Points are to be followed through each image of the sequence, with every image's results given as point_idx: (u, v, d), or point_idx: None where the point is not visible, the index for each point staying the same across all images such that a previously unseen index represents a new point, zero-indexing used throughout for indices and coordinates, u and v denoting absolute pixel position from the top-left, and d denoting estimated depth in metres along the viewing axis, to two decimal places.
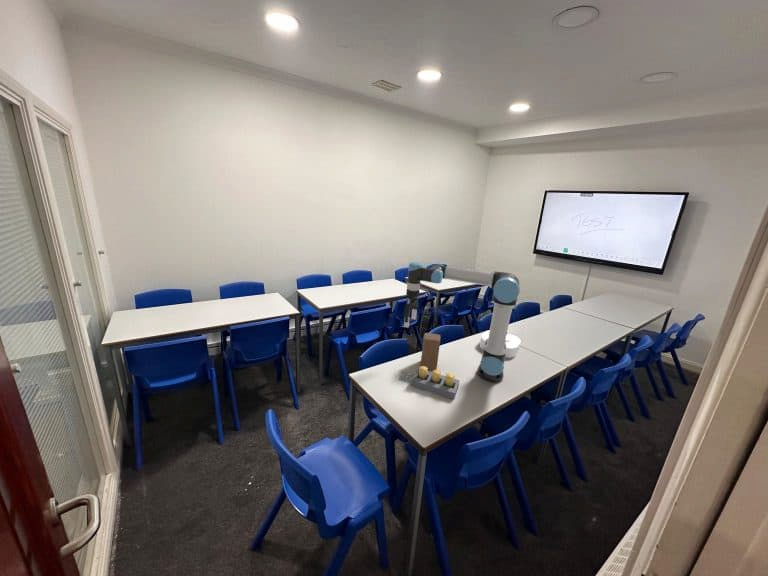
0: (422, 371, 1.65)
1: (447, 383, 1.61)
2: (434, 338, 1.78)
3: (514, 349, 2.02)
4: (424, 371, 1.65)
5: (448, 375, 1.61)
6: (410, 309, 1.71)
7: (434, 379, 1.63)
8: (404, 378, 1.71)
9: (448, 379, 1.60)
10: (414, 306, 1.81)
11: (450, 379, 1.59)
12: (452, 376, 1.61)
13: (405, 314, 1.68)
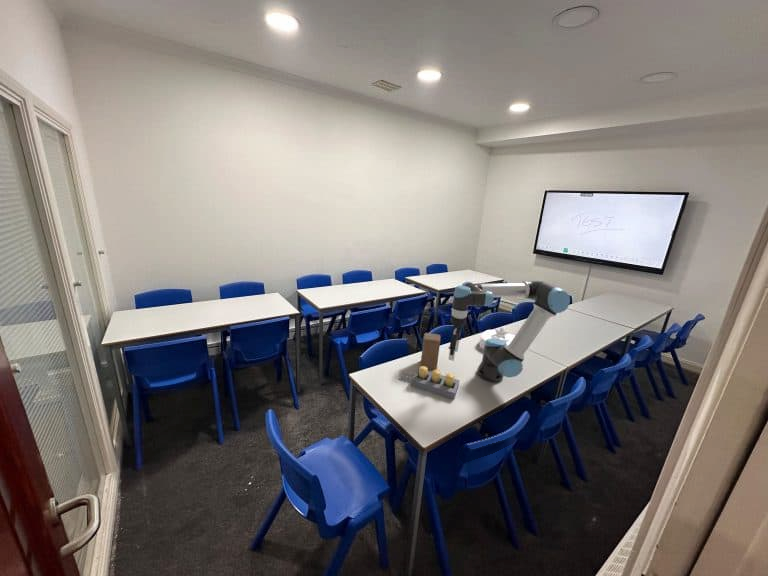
0: (422, 371, 1.65)
1: (447, 383, 1.61)
2: (434, 338, 1.78)
3: None
4: (424, 371, 1.65)
5: (448, 375, 1.61)
6: (456, 340, 1.50)
7: (434, 379, 1.63)
8: (404, 378, 1.71)
9: (448, 379, 1.60)
10: (457, 336, 1.59)
11: (450, 379, 1.59)
12: (452, 376, 1.61)
13: (451, 347, 1.48)
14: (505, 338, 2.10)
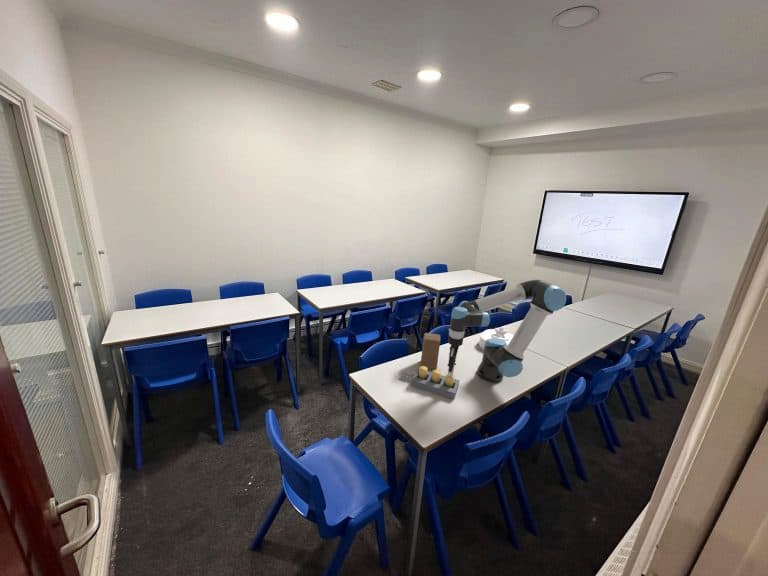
0: (422, 371, 1.65)
1: (447, 384, 1.61)
2: (434, 338, 1.78)
3: None
4: (424, 371, 1.65)
5: (448, 376, 1.61)
6: (454, 359, 1.56)
7: (434, 379, 1.63)
8: (404, 378, 1.71)
9: (448, 380, 1.60)
10: None
11: (450, 380, 1.59)
12: (452, 377, 1.61)
13: (450, 365, 1.55)
14: (504, 338, 2.10)
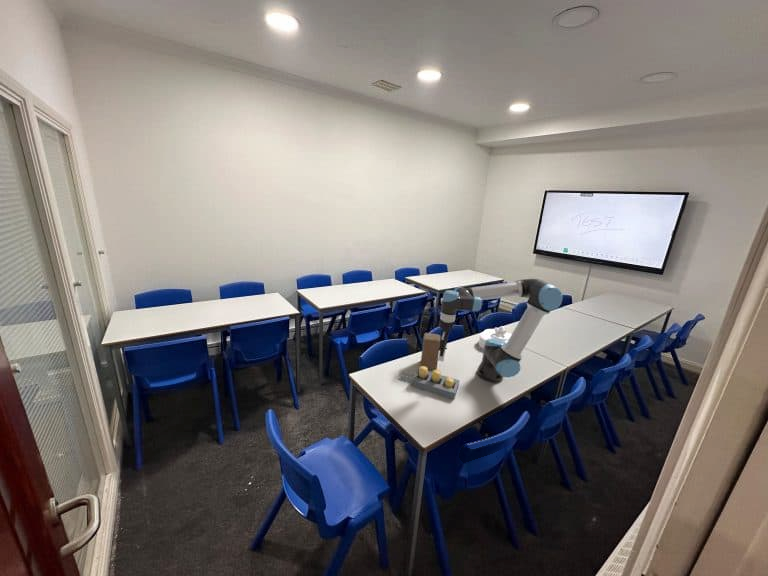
0: (422, 371, 1.65)
1: None
2: (434, 338, 1.78)
3: None
4: (424, 371, 1.65)
5: (447, 379, 1.62)
6: (445, 343, 1.55)
7: (434, 379, 1.63)
8: (404, 378, 1.71)
9: (447, 383, 1.60)
10: None
11: (449, 383, 1.60)
12: (451, 380, 1.61)
13: (441, 349, 1.55)
14: (504, 337, 2.11)
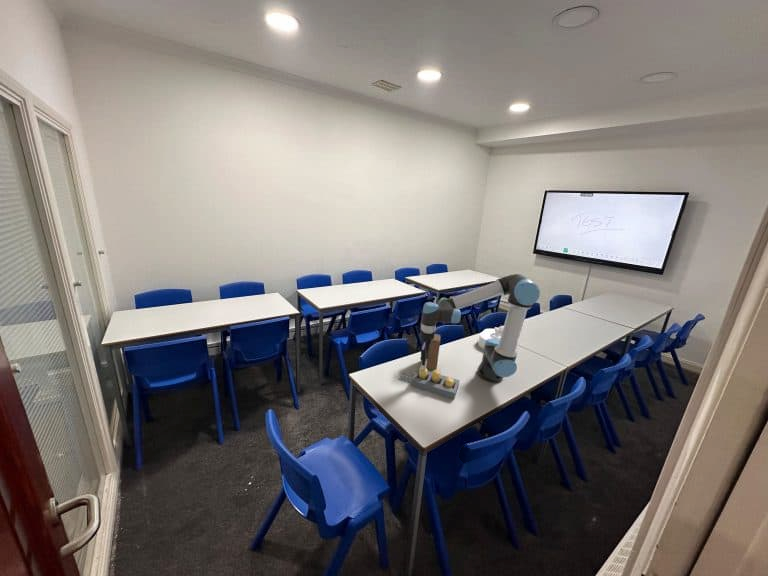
0: (422, 372, 1.65)
1: None
2: (434, 338, 1.78)
3: None
4: (424, 372, 1.65)
5: (447, 379, 1.62)
6: (426, 353, 1.61)
7: (434, 379, 1.63)
8: (404, 378, 1.71)
9: (447, 383, 1.60)
10: None
11: (449, 383, 1.60)
12: (451, 380, 1.61)
13: (422, 358, 1.61)
14: None
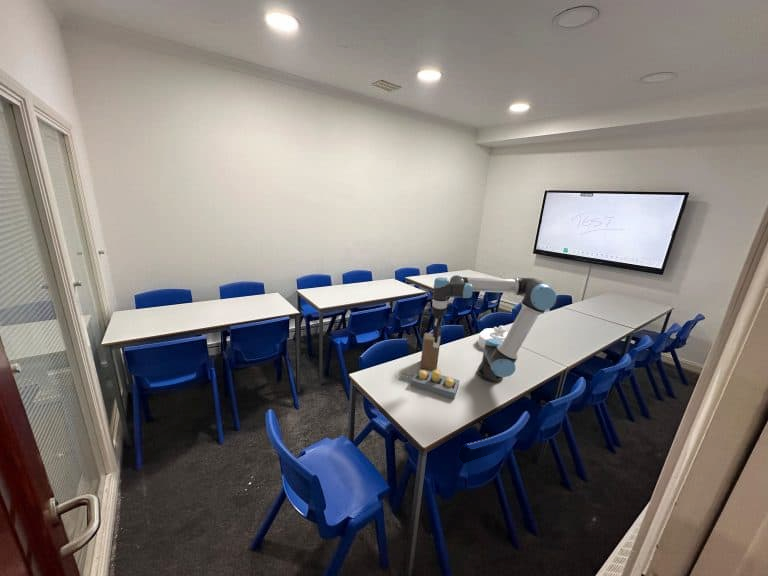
0: (422, 375, 1.66)
1: None
2: None
3: None
4: (424, 375, 1.66)
5: (447, 379, 1.62)
6: (438, 329, 1.59)
7: (434, 379, 1.63)
8: (404, 378, 1.71)
9: (447, 383, 1.60)
10: None
11: (449, 383, 1.60)
12: (451, 380, 1.61)
13: (435, 335, 1.58)
14: (503, 336, 2.12)
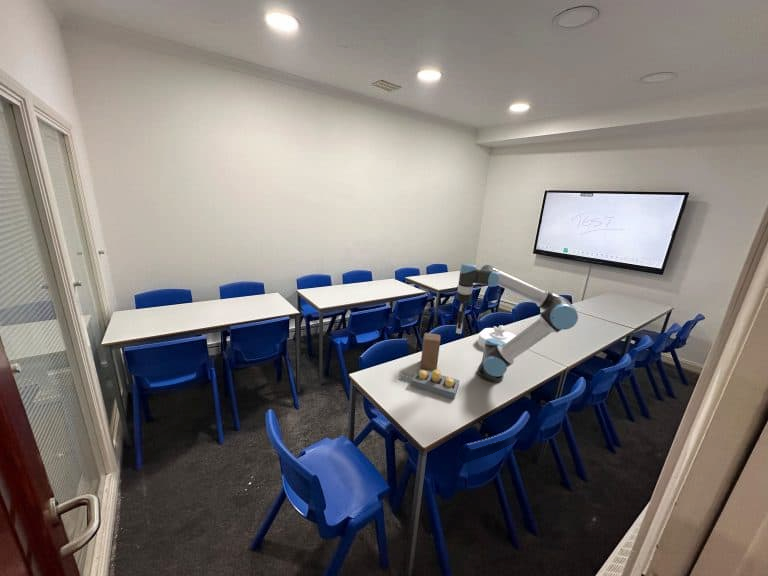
0: (422, 375, 1.66)
1: None
2: (434, 338, 1.78)
3: None
4: (424, 375, 1.66)
5: (447, 379, 1.62)
6: (463, 315, 1.61)
7: (434, 379, 1.63)
8: (404, 378, 1.71)
9: (447, 383, 1.60)
10: None
11: (449, 383, 1.60)
12: (451, 380, 1.61)
13: (459, 321, 1.61)
14: (503, 336, 2.13)
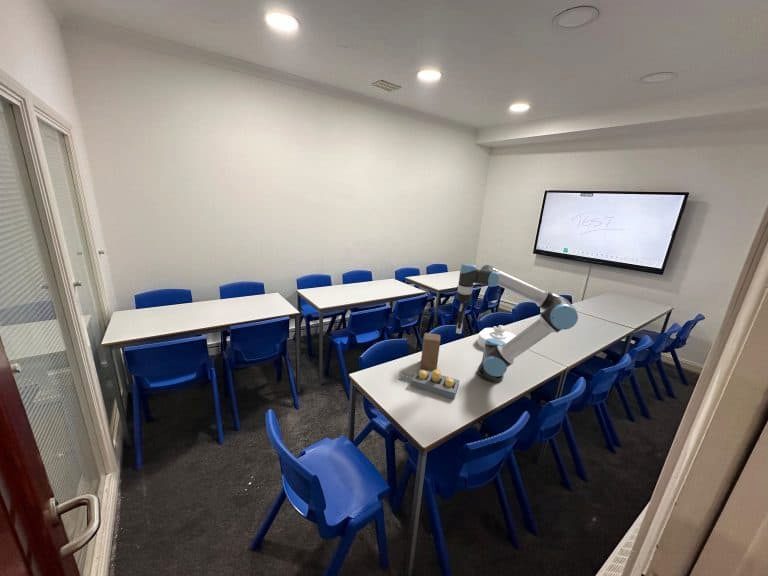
0: (422, 375, 1.66)
1: None
2: (434, 338, 1.78)
3: None
4: (424, 375, 1.66)
5: (447, 379, 1.62)
6: (463, 315, 1.61)
7: (434, 379, 1.63)
8: (404, 378, 1.71)
9: (447, 383, 1.60)
10: None
11: (449, 383, 1.60)
12: (451, 380, 1.61)
13: (459, 321, 1.61)
14: (502, 336, 2.13)
